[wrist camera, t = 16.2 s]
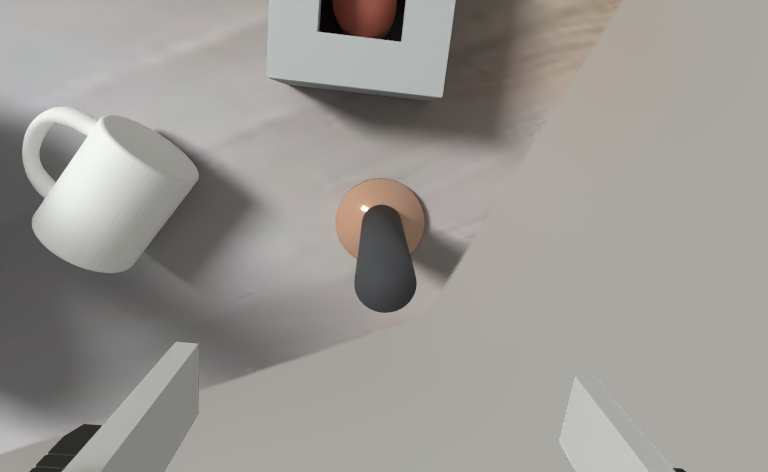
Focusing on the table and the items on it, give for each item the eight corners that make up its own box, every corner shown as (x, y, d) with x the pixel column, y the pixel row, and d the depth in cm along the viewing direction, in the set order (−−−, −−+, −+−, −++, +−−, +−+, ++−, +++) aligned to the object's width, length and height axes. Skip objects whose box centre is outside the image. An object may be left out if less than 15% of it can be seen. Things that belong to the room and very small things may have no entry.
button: (333, 39, 36) (330, 33, 33) (338, -25, 34) (335, -38, 31) (391, 47, 36) (393, 40, 33) (398, -17, 35) (400, -30, 32)
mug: (213, 174, 40) (174, 188, 32) (150, 256, 42) (99, 287, 34) (95, 81, 38) (23, 72, 30) (34, 171, 40) (-48, 185, 32)
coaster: (333, 259, 42) (332, 261, 41) (340, 173, 40) (339, 174, 39) (417, 267, 42) (418, 269, 42) (429, 183, 40) (430, 184, 40)
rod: (359, 241, 41) (351, 309, 26) (363, 202, 40) (357, 251, 26) (399, 245, 41) (412, 315, 27) (403, 206, 40) (420, 257, 26)
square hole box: (288, 85, 38) (266, 76, 30) (296, -77, 35) (274, -132, 27) (428, 101, 39) (442, 97, 31) (449, -57, 35) (470, -105, 28)
